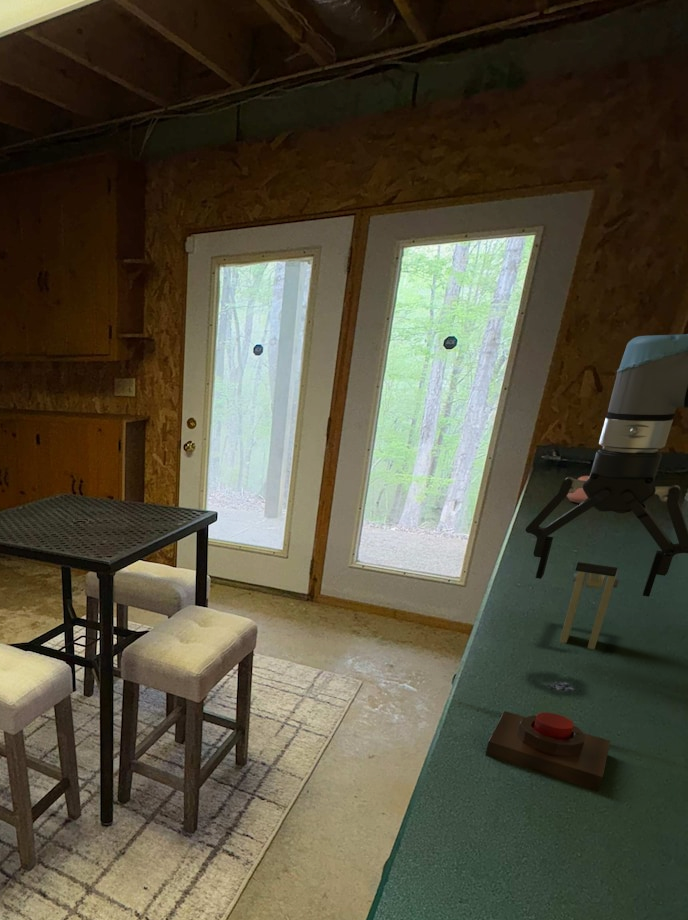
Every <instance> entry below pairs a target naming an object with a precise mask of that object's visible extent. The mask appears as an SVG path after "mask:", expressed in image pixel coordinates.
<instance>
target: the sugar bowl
mask: <svg viewBox="0 0 688 920" xmlns="http://www.w3.org/2000/svg"><path fill="white" fill-rule="evenodd" d="M590 474H591V472H590V473H589V475H583V476H582V475H581V476H580V477H578V478H577V480H582V481H587V480H588V479H589V477H590ZM566 498H567V499H568V500H569V501H570V502H573V503H576V504H578V503H581V502H583V501H584V500H586V499H587V498H588V497H587V495H586V494H585V492H584V490H583V488H579V489H577V490H576V491H575V492H574V493H568V495H567V496H566Z"/></svg>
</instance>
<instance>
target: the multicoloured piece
mask: <svg viewBox="0 0 688 920" xmlns="http://www.w3.org/2000/svg"><path fill="white" fill-rule="evenodd" d="M618 569H619V568H618V567H617V566H609V565H602V564H596V563H588V562H581V561H577V564H576V567H575V571H576V572H578V571H580V572H587V574H588V575H587V577H586V580H585V581H586V582H585V588H590V589H595V590H602V588H603V586H604V582H605V579H606V577H608V576H614V577H615V576H616V577H617V575H616V572H617V570H618ZM617 573H618V572H617Z"/></svg>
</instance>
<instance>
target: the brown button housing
mask: <svg viewBox="0 0 688 920" xmlns="http://www.w3.org/2000/svg"><path fill="white" fill-rule="evenodd" d="M536 716H537V714H535V715H534V714H532V715H528V716H525V715H524V716H523V715H520V714H516V713H514V712H510V711H505V710H504V711H503V712H502V714H501V717H500V719H499V721H498V723H497V724H496V726H495V728H494V729H493V732H492V734H491V735H490V738H489V740H488V741H487V746H486V750H485V754H484V755H485V756H487V757H490V758H493V759H496V760H499V761H502V762H505V763H509V764H511V765H515V766H517V767H520V768H524V769H526V770H531V771H532V772H536V773H538V774H539V773H540V774H543V775H545V776H549V777H551V778H555V779H557V780H561V781H564V782H567V783H570V784H573V785H577V786H579V787H582V788H586V789H588V790H592V791H595V792H599V790H600V787H601V784H602V781H603V778H604V773H605V769H606V764H607V760H608V754H609V750H610V744H611V740H609V739H606V738H603V737H599V736H595V735H592V734H588V733H586V732H585V733H584V732H583V731H582V729H580V727H578V726H576V725H574V727H573V731H572V734H571V737H570V738H569V739H566V740H565V739H555V738H551V737H548V736H544V735H542V734H541V733H539V732H537V731H535V730H534V723H535V719H536Z"/></svg>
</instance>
